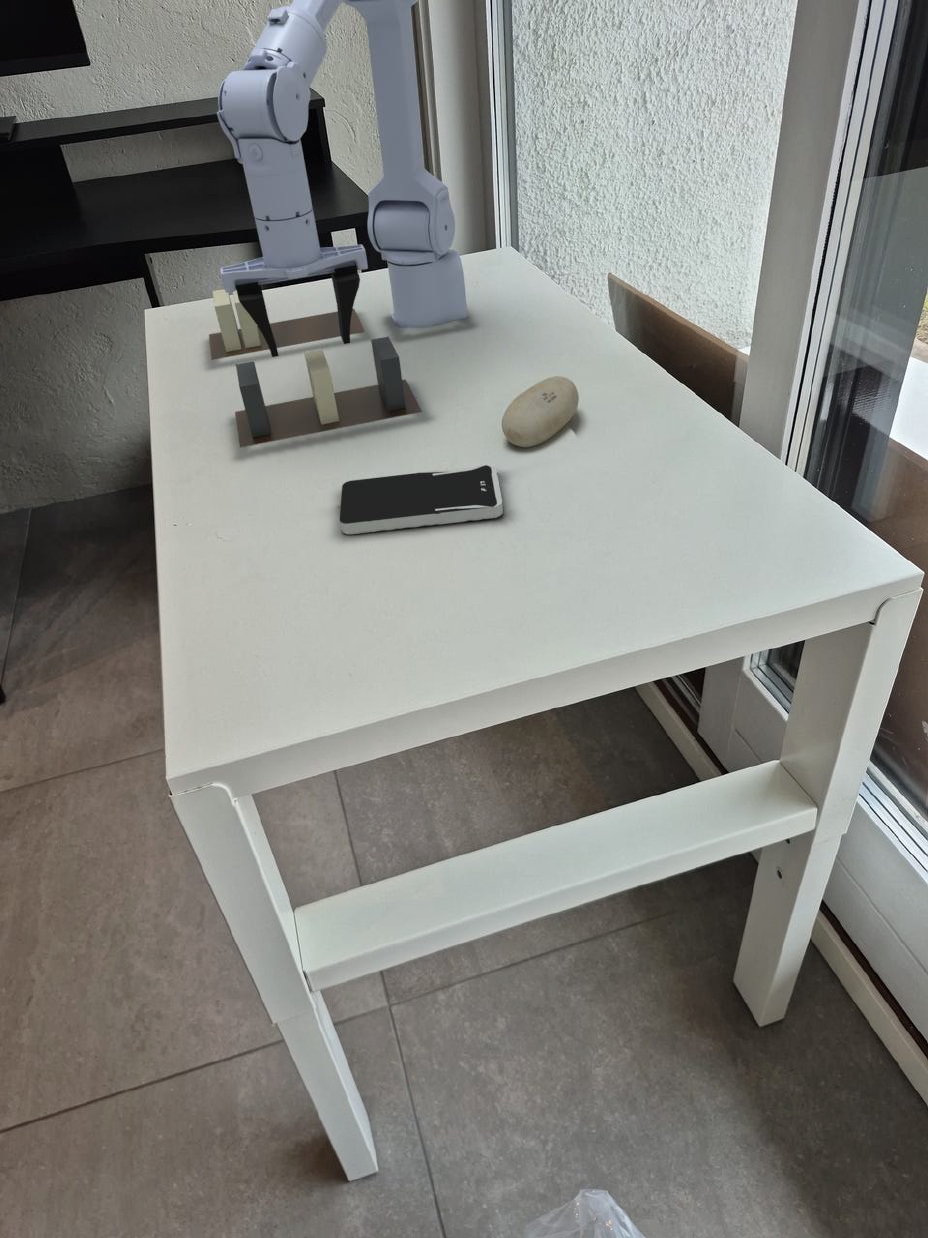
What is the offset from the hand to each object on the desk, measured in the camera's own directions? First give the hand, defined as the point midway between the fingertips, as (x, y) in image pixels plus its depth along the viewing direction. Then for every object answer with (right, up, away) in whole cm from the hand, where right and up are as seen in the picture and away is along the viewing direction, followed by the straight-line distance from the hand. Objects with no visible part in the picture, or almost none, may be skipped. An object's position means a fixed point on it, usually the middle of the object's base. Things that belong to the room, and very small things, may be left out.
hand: (310, 346), depth 96 cm
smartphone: (+12, -18, -10) cm, 24 cm away
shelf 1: (-7, +8, +24) cm, 26 cm away
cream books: (-13, +8, +23) cm, 27 cm away
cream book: (+1, -6, +4) cm, 7 cm away
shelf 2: (+1, -7, +5) cm, 8 cm away
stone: (+25, -10, -1) cm, 26 cm away
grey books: (+1, -6, +4) cm, 7 cm away
